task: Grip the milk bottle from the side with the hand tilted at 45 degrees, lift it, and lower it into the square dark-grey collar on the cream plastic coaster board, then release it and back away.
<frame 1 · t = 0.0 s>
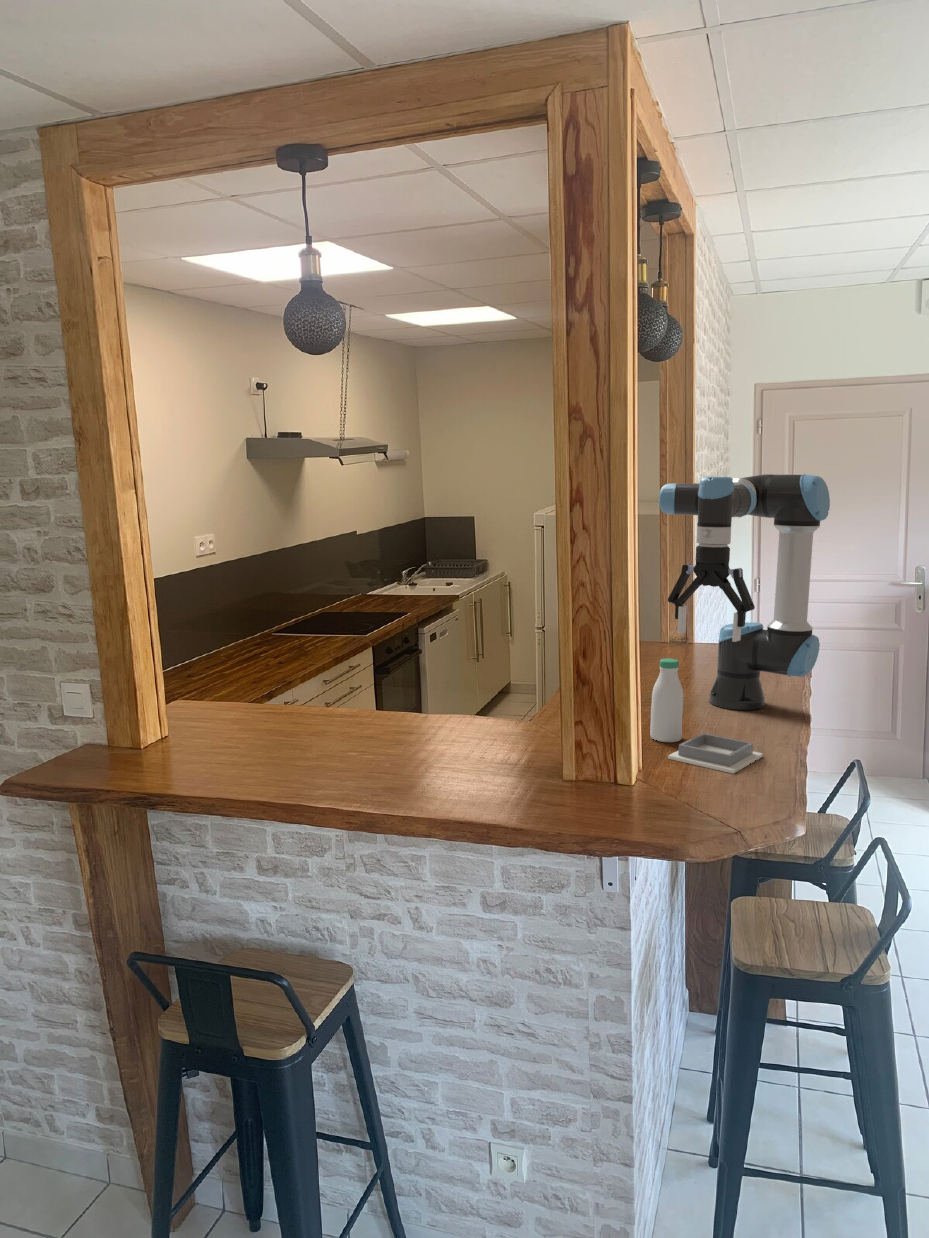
hand: (708, 637, 215), 28 cm above the counter, tool pointing down, fingers open, 13 cm apart
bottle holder: (715, 757, 216), on the counter
milk bottle: (665, 739, 231), on the counter
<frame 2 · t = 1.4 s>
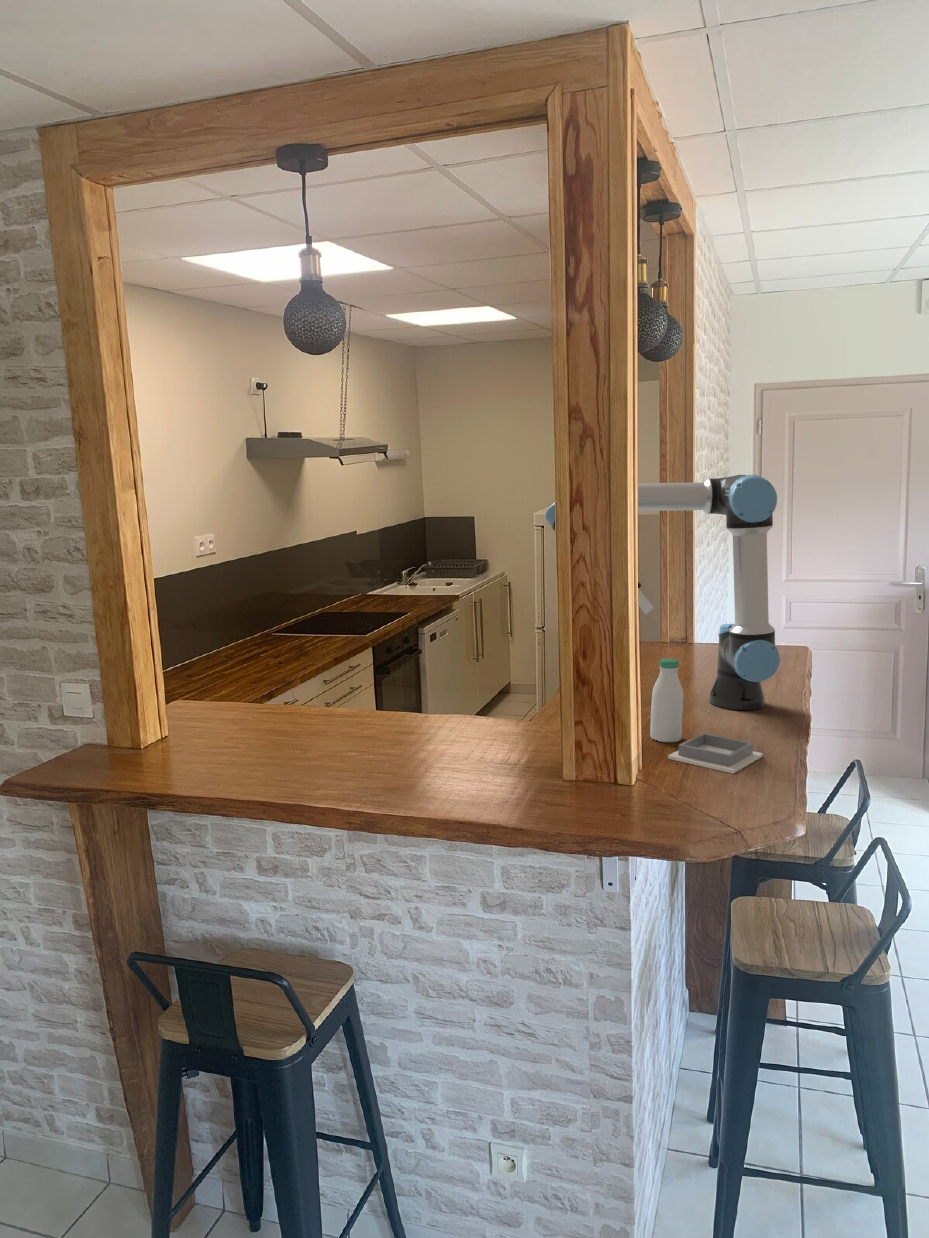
hand: (637, 614, 236), 30 cm above the counter, tool tilted 45°, fingers open, 13 cm apart
nothing on the counter moved.
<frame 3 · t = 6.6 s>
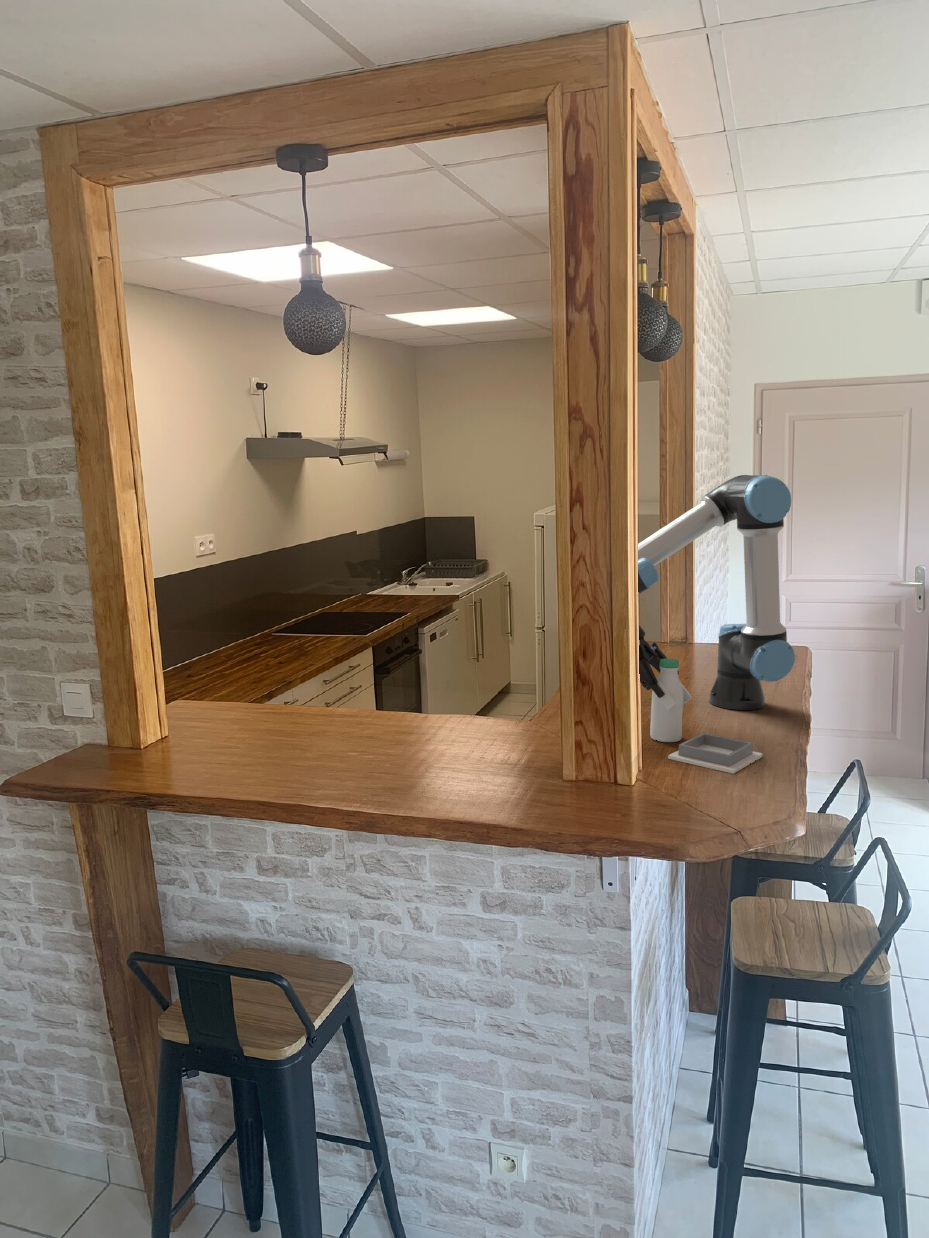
hand: (680, 703, 227), 10 cm above the counter, tool tilted 45°, fingers closed on milk bottle, 7 cm apart
milk bottle: (665, 739, 231), on the counter, touching gripper
when the fingers open (12 cm above the counter, at t = 13.2 s): milk bottle drops 1 cm, resting on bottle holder.
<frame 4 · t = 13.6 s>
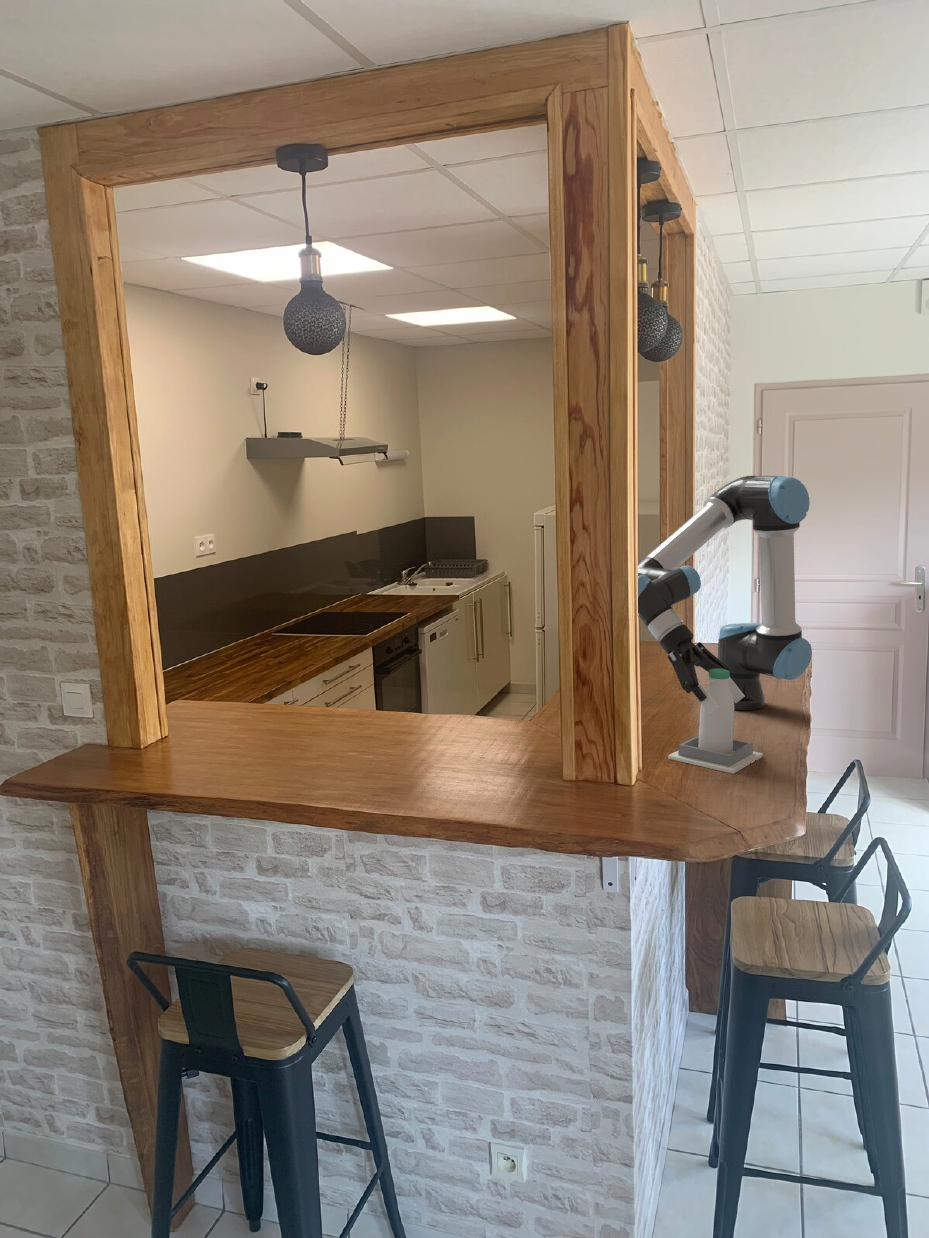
hand: (728, 705, 213), 13 cm above the counter, tool tilted 45°, fingers open, 13 cm apart
milk bottle: (715, 754, 216), point 1 cm above the counter, touching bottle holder
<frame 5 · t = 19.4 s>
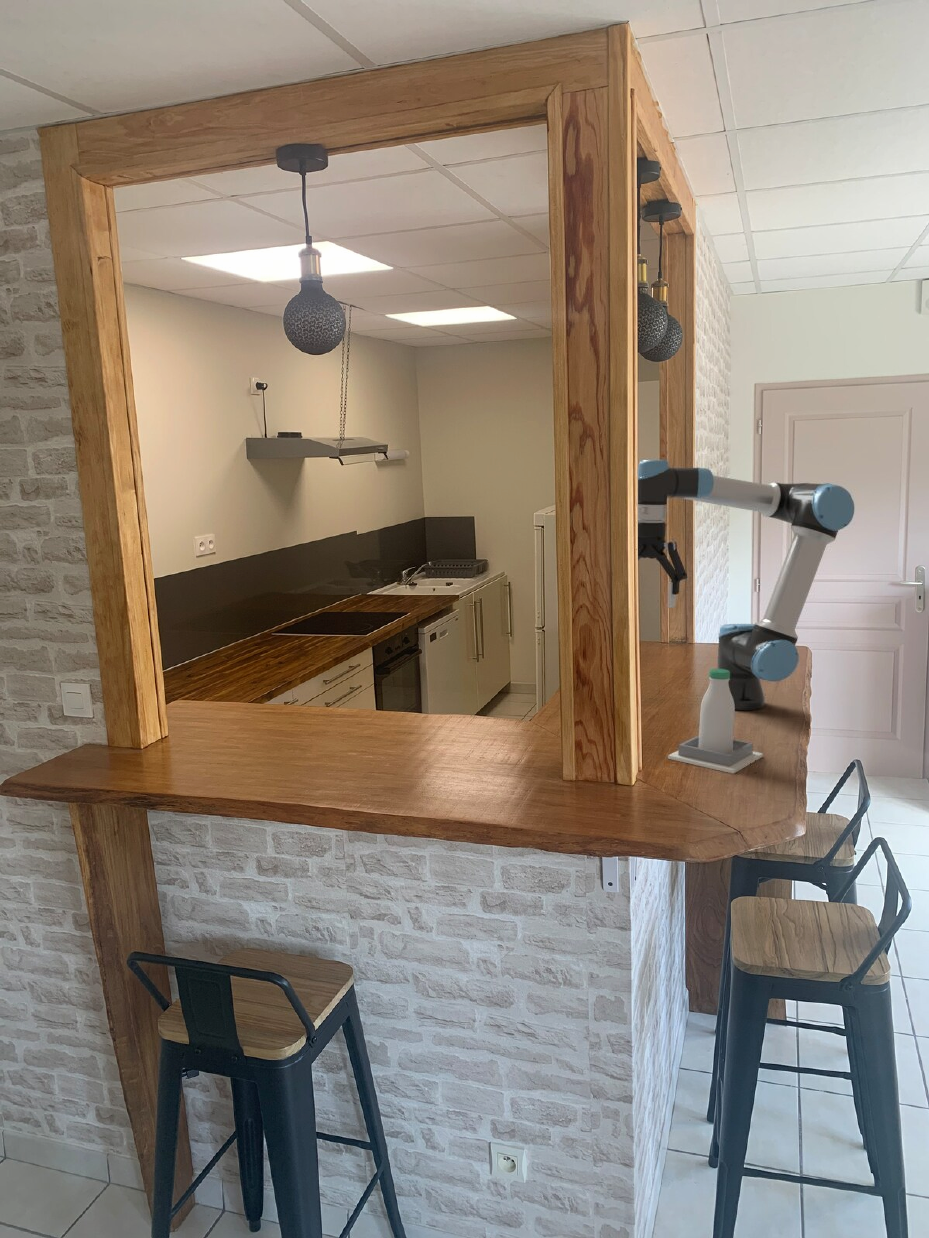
hand: (647, 604, 239), 32 cm above the counter, tool pointing down, fingers open, 13 cm apart
nothing on the counter moved.
at the end: milk bottle 0.1 cm from the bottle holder (horizontally); milk bottle point 0.6 cm above the counter; milk bottle tilted 0° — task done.
